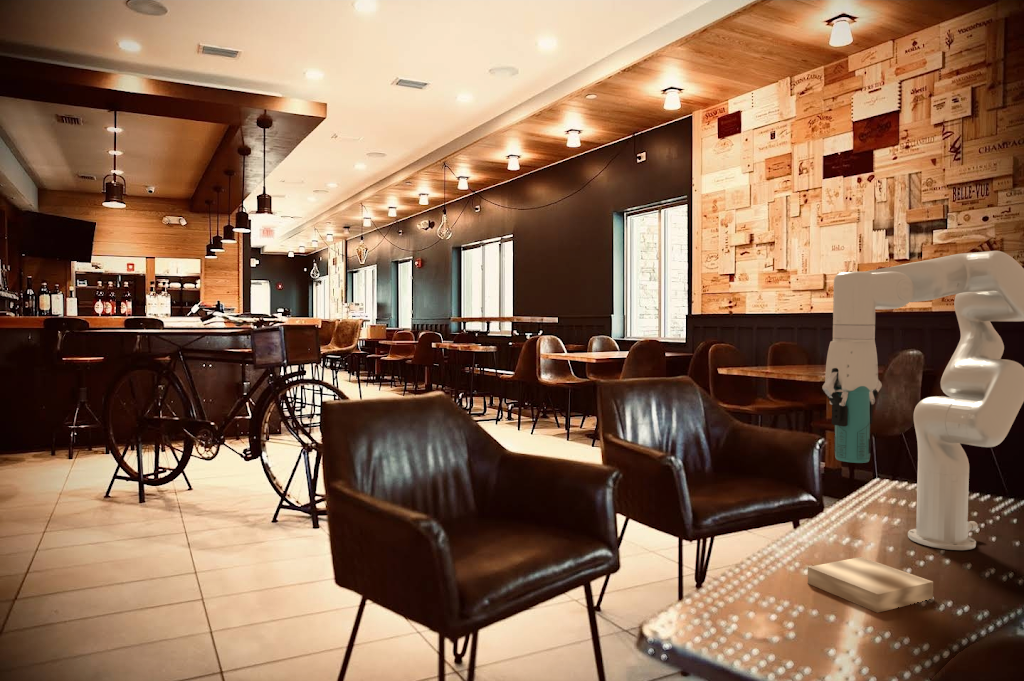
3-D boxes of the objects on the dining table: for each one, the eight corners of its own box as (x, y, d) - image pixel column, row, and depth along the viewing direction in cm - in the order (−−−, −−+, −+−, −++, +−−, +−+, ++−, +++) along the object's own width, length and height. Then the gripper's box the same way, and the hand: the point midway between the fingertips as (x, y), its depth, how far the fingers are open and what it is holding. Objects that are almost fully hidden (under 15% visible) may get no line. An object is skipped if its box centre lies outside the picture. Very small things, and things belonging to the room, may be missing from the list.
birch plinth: (860, 572, 132) (861, 556, 132) (932, 599, 119) (933, 581, 119) (807, 583, 126) (808, 566, 126) (877, 612, 113) (877, 594, 113)
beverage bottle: (874, 471, 135) (876, 368, 135) (837, 469, 136) (839, 367, 136) (864, 464, 142) (866, 366, 141) (829, 463, 143) (831, 365, 142)
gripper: (866, 333, 145) (865, 419, 146) (806, 334, 138) (805, 424, 138) (900, 334, 139) (898, 424, 139) (839, 334, 131) (837, 429, 132)
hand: (852, 423), depth 139 cm, fingers closed on beverage bottle, 6 cm apart
